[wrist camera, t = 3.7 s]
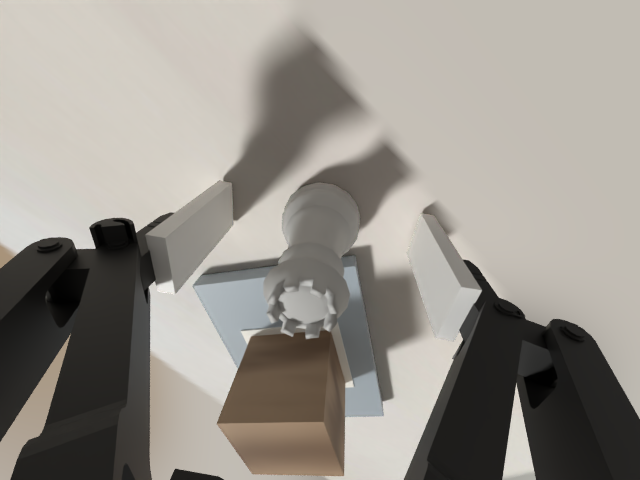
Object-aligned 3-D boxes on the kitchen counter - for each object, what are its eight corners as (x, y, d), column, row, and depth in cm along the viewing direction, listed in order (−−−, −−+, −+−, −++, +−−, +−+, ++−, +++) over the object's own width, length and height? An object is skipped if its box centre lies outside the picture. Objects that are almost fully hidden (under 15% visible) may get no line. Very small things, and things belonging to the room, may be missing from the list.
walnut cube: (250, 336, 20) (216, 423, 15) (330, 329, 19) (323, 421, 14) (274, 386, 23) (252, 474, 18) (345, 383, 22) (343, 475, 17)
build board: (200, 275, 19) (191, 287, 18) (355, 255, 17) (355, 267, 16) (268, 405, 27) (265, 419, 26) (382, 402, 25) (383, 417, 24)
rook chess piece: (376, 214, 16) (396, 314, 9) (326, 260, 18) (311, 372, 11) (317, 162, 15) (289, 231, 8) (270, 218, 17) (214, 313, 10)
